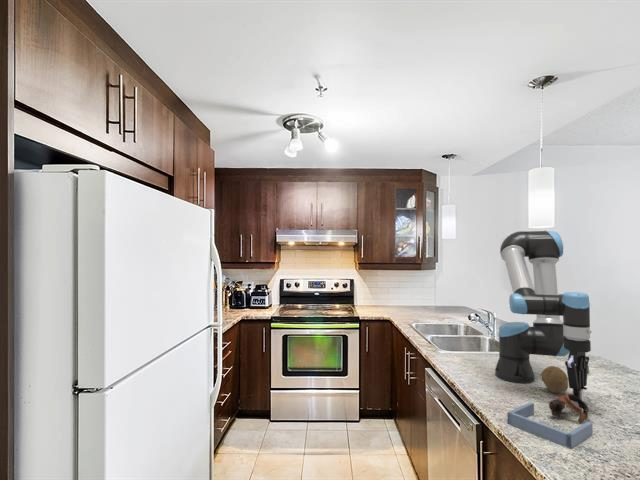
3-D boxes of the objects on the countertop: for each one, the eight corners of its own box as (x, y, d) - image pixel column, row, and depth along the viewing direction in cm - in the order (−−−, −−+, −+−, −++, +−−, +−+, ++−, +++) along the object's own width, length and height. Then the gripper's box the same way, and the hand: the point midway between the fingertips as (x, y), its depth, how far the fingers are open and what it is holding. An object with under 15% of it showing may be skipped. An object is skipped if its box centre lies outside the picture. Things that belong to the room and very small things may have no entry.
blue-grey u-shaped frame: (507, 423, 116) (507, 412, 116) (530, 412, 124) (530, 402, 124) (571, 448, 101) (570, 436, 101) (592, 434, 109) (592, 422, 109)
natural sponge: (543, 386, 148) (543, 361, 149) (570, 391, 143) (569, 365, 143) (539, 393, 141) (539, 367, 142) (567, 399, 136) (566, 371, 136)
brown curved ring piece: (562, 409, 127) (576, 392, 125) (584, 433, 119) (599, 415, 116) (535, 404, 124) (549, 386, 121) (555, 429, 116) (571, 410, 113)
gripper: (581, 343, 118) (583, 417, 117) (597, 337, 125) (599, 407, 124) (555, 338, 124) (557, 409, 123) (572, 333, 131) (574, 400, 130)
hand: (578, 408), depth 124 cm, fingers closed
